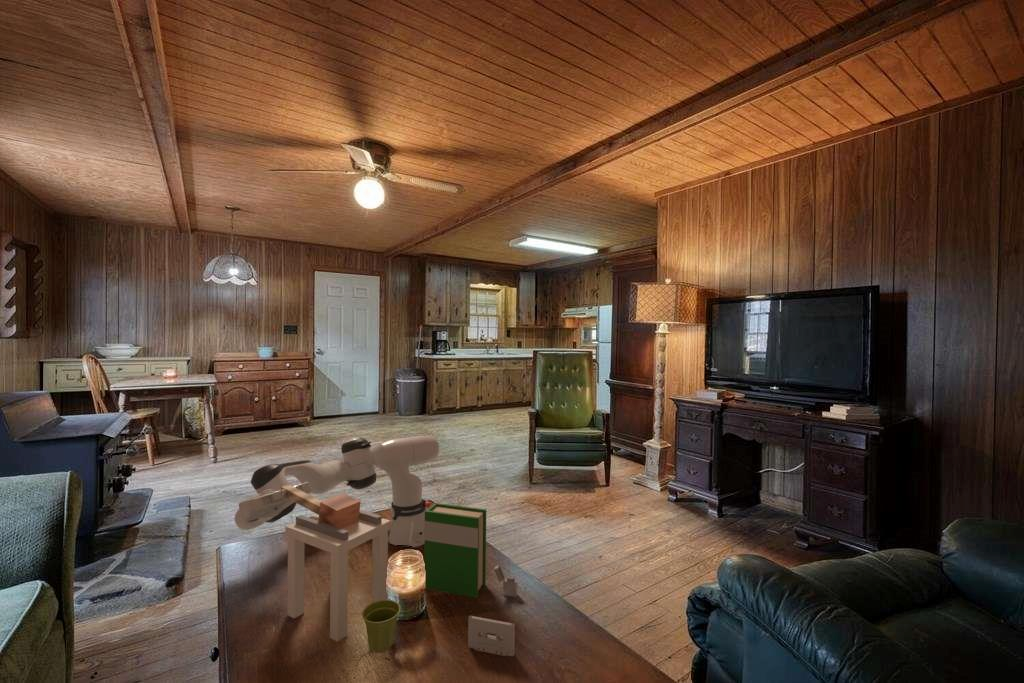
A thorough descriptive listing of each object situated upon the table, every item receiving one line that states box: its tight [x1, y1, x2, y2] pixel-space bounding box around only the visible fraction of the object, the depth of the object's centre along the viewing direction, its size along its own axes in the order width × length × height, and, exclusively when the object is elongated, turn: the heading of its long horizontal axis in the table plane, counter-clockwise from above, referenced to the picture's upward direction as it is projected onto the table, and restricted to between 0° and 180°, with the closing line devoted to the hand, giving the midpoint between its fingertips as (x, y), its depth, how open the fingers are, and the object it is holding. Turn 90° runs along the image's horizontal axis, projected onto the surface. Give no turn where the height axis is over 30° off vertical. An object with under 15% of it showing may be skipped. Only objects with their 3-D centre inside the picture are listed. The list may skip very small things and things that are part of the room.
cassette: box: [467, 615, 516, 657], centre depth 110 cm, size 12×2×8 cm, turn 75°
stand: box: [284, 509, 392, 642], centre depth 125 cm, size 22×18×27 cm
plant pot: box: [361, 599, 402, 653], centre depth 112 cm, size 9×9×9 cm
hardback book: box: [423, 502, 487, 599], centre depth 139 cm, size 18×7×24 cm, turn 74°
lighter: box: [493, 565, 518, 598], centre depth 135 cm, size 7×2×8 cm, turn 73°
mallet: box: [281, 483, 362, 529], centre depth 130 cm, size 29×8×6 cm, turn 60°
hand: (291, 489), depth 136 cm, fingers closed on mallet, 2 cm apart
